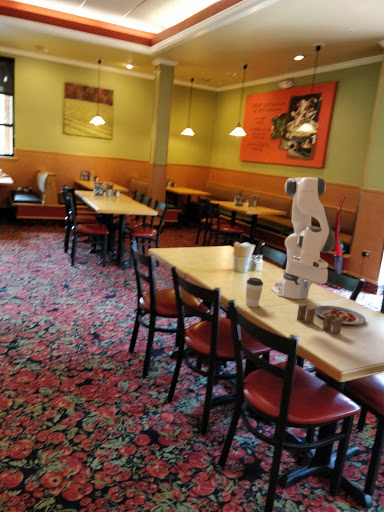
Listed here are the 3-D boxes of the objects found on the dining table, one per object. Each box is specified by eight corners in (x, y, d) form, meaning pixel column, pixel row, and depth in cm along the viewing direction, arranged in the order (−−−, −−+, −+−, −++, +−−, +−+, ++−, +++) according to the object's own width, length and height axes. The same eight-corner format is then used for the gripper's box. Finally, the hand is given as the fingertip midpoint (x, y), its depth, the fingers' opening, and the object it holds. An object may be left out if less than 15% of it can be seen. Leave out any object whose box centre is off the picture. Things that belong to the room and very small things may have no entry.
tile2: (304, 323, 210) (307, 308, 208) (310, 321, 213) (313, 306, 211) (307, 324, 209) (310, 309, 207) (313, 322, 212) (315, 307, 210)
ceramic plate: (325, 305, 241) (326, 301, 240) (371, 319, 225) (372, 314, 225) (306, 316, 221) (307, 311, 221) (355, 332, 206) (356, 326, 205)
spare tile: (298, 297, 204) (301, 281, 203) (304, 296, 208) (307, 280, 206) (301, 298, 203) (304, 282, 201) (307, 297, 206) (310, 281, 205)
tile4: (322, 330, 203) (325, 315, 201) (327, 328, 206) (330, 313, 204) (325, 331, 202) (328, 316, 200) (330, 329, 205) (333, 314, 203)
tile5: (331, 334, 199) (334, 318, 197) (337, 332, 202) (339, 316, 201) (334, 335, 198) (337, 319, 196) (340, 333, 201) (342, 318, 199)
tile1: (296, 320, 214) (299, 305, 212) (302, 318, 217) (304, 303, 215) (299, 321, 212) (301, 306, 211) (304, 319, 216) (307, 304, 214)
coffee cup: (255, 301, 236) (258, 276, 232) (263, 307, 228) (266, 281, 224) (240, 302, 233) (244, 276, 229) (248, 308, 224) (252, 281, 221)
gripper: (287, 255, 207) (284, 282, 210) (324, 266, 192) (319, 294, 195) (295, 254, 211) (291, 280, 214) (331, 264, 196) (326, 292, 199)
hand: (305, 287), depth 204 cm, fingers closed on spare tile, 2 cm apart
